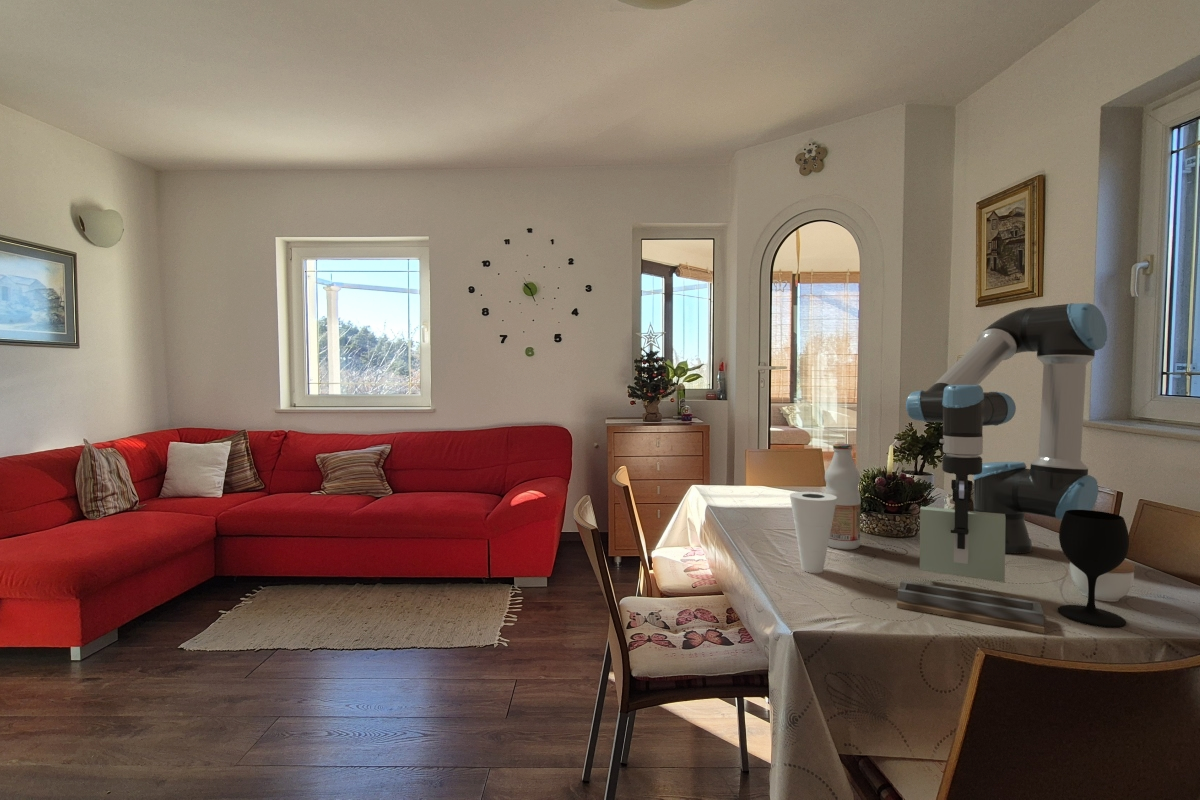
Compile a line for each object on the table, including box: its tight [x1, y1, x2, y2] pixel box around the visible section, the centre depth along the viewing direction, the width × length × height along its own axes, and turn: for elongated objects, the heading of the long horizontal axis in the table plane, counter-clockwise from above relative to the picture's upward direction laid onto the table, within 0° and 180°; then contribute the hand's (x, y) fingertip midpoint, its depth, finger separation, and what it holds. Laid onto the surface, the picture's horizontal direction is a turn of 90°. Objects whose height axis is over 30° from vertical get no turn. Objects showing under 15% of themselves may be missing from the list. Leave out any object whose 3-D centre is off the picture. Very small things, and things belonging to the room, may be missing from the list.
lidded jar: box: [1069, 559, 1136, 603], centre depth 127 cm, size 11×11×9 cm
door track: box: [896, 580, 1045, 635], centre depth 119 cm, size 24×10×3 cm, turn 58°
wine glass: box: [1057, 510, 1130, 629], centre depth 116 cm, size 10×10×20 cm
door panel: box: [919, 506, 1006, 583], centre depth 133 cm, size 16×3×14 cm, turn 58°
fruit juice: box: [823, 443, 862, 550], centre depth 166 cm, size 9×9×28 cm
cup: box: [789, 491, 837, 574], centre depth 145 cm, size 11×11×18 cm
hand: (961, 560), depth 133 cm, fingers closed on door panel, 3 cm apart
